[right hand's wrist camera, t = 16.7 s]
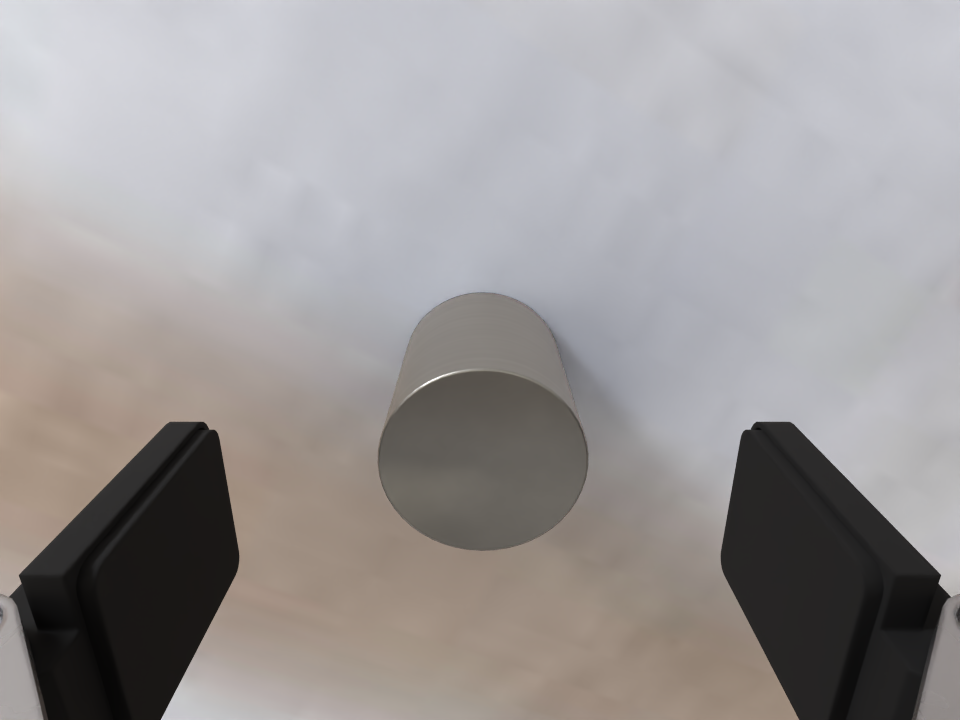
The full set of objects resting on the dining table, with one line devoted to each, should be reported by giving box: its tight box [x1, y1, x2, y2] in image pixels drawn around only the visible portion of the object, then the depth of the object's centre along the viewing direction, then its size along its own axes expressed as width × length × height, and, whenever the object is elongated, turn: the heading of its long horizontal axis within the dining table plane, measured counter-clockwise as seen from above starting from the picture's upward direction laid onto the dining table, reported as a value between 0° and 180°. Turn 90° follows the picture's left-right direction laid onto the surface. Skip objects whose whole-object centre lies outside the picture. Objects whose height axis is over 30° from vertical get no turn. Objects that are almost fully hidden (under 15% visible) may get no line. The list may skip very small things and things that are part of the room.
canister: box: [378, 293, 588, 551], centre depth 15 cm, size 4×4×5 cm
